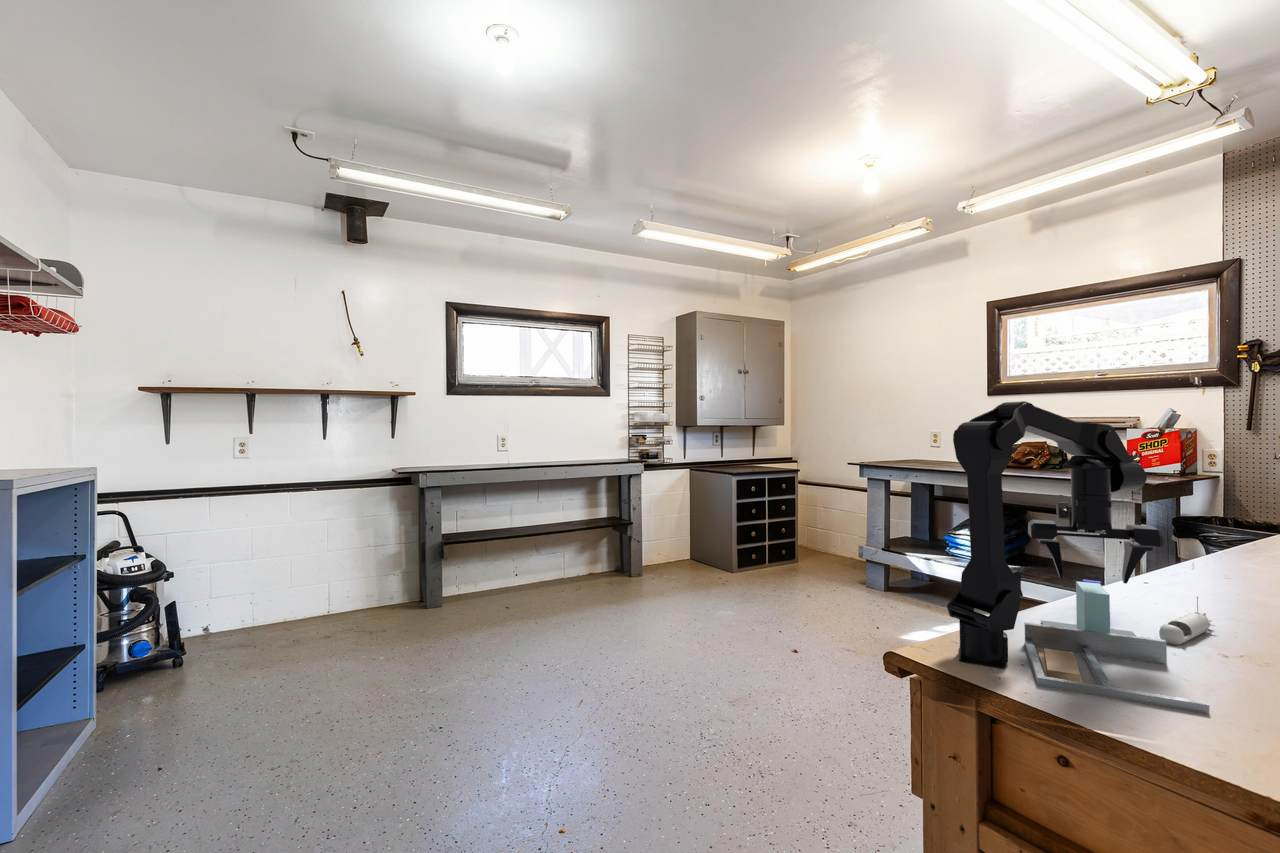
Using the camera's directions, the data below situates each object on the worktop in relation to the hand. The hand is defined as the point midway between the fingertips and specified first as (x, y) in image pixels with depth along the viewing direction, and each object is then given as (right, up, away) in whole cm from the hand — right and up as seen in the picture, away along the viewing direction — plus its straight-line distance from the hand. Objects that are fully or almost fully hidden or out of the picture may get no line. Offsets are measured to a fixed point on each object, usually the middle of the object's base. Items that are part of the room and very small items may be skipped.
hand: (1092, 580), depth 105 cm
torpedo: (+19, -11, +2) cm, 22 cm away
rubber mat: (0, -11, 0) cm, 11 cm away
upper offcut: (-15, -11, -13) cm, 22 cm away
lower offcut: (-15, -12, -12) cm, 23 cm away
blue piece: (+11, -11, +13) cm, 20 cm away
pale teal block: (0, -10, 0) cm, 10 cm away
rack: (-10, -11, -15) cm, 21 cm away
